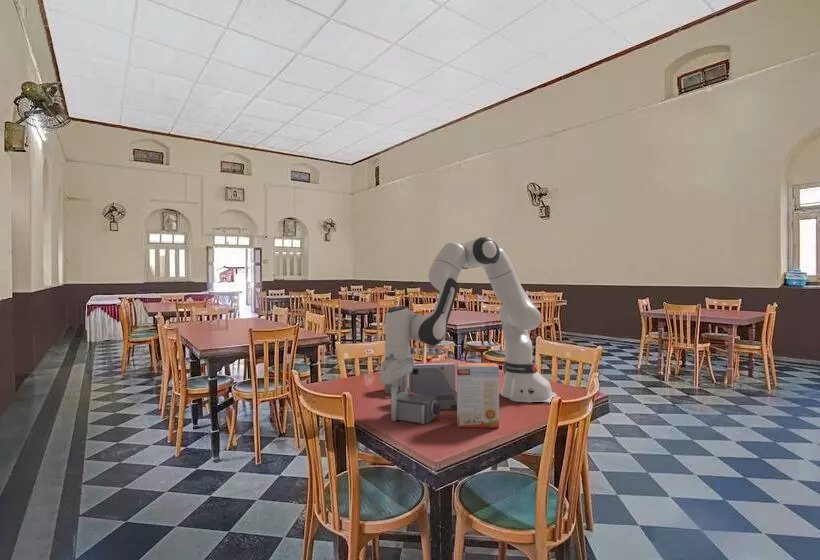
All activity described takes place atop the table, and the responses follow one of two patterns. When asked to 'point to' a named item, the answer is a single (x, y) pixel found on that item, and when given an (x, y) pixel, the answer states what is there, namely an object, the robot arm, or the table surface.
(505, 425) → the table surface
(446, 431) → the table surface
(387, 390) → the coffee mug
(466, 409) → the cracker box
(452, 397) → the instant camera
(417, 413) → the side door
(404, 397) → the camera box
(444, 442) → the table surface
